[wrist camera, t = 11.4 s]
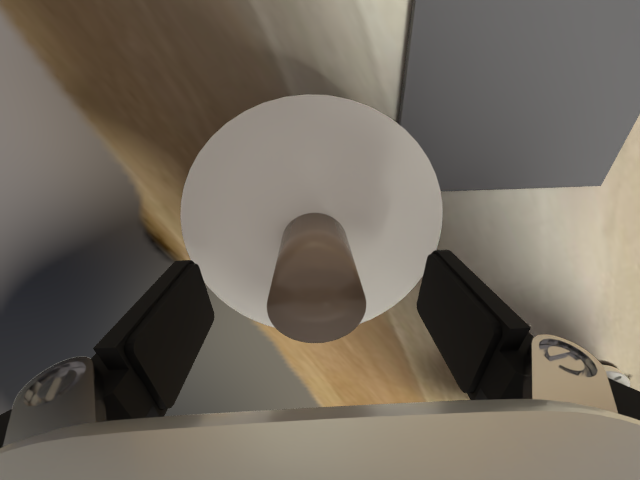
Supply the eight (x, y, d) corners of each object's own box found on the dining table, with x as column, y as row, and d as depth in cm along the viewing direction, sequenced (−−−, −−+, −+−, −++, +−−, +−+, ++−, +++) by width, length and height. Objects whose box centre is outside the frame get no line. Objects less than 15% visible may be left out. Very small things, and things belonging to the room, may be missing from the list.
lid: (460, 90, 11) (610, 64, 5) (413, 315, 17) (460, 404, 12) (149, 101, 10) (-19, 86, 5) (221, 326, 17) (181, 421, 12)
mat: (775, -162, 11) (795, -174, 10) (593, 184, 18) (600, 185, 18) (431, -162, 10) (437, -175, 10) (390, 191, 18) (392, 193, 17)
